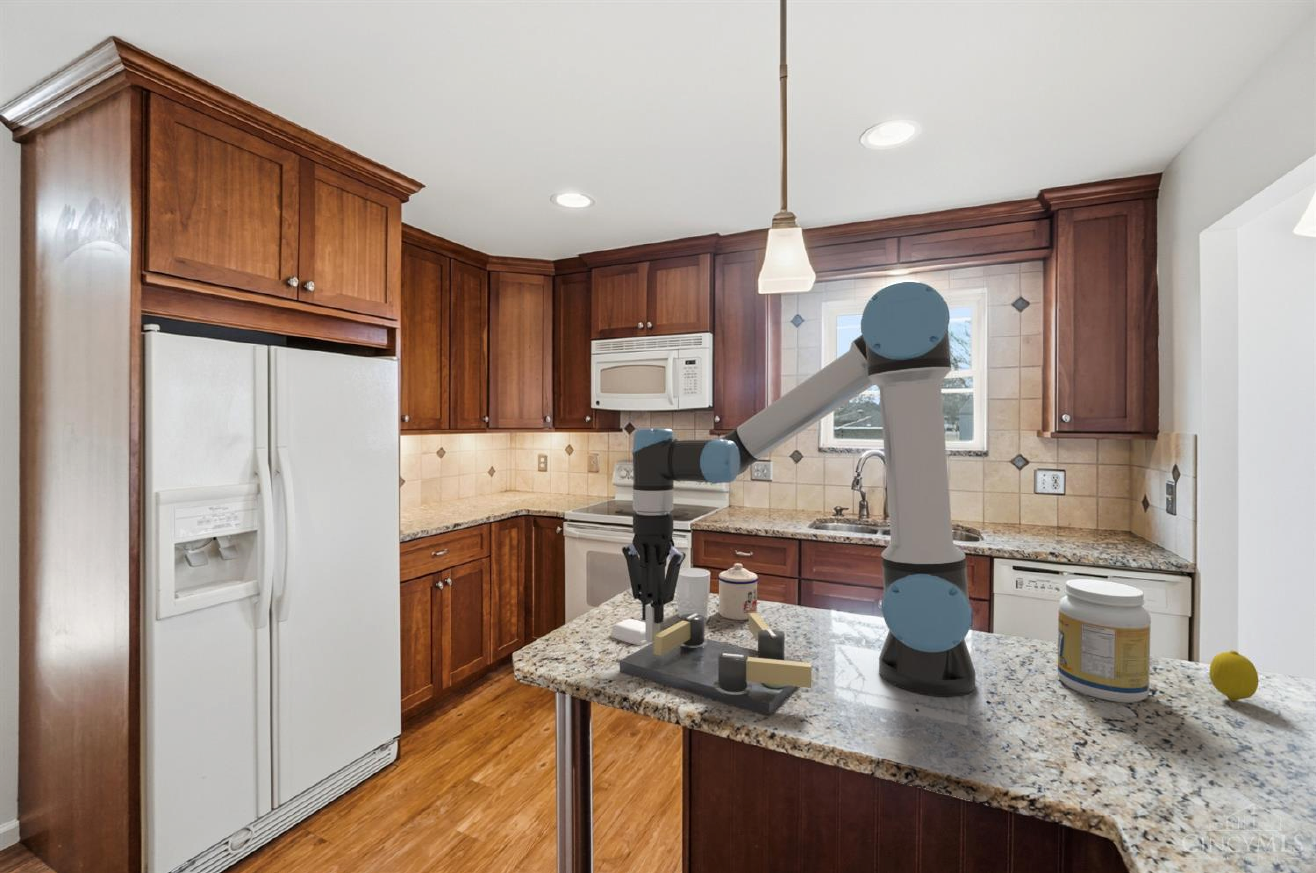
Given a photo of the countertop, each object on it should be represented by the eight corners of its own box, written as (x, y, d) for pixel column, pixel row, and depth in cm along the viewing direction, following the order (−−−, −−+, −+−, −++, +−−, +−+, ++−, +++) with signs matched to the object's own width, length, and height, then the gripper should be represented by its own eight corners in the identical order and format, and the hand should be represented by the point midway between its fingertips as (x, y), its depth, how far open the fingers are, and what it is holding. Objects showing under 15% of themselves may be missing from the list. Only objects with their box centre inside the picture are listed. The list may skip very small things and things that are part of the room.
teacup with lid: (750, 623, 129) (751, 570, 128) (712, 617, 133) (712, 566, 133) (766, 608, 139) (766, 559, 139) (730, 603, 143) (730, 555, 143)
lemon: (1249, 712, 89) (1250, 660, 89) (1202, 697, 94) (1203, 647, 94) (1264, 704, 92) (1265, 653, 92) (1217, 690, 97) (1218, 642, 96)
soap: (662, 638, 120) (662, 624, 120) (641, 648, 115) (641, 633, 115) (629, 628, 126) (629, 615, 126) (607, 637, 121) (607, 623, 121)
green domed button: (791, 681, 95) (791, 676, 95) (782, 690, 91) (782, 686, 91) (768, 675, 97) (768, 671, 97) (758, 684, 94) (758, 679, 94)
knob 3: (716, 689, 91) (716, 659, 91) (720, 676, 96) (720, 648, 95) (811, 699, 88) (811, 668, 88) (810, 686, 92) (811, 656, 92)
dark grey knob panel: (810, 674, 102) (810, 662, 102) (766, 719, 86) (766, 704, 86) (674, 641, 118) (674, 630, 118) (616, 674, 102) (616, 662, 102)
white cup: (673, 620, 131) (673, 575, 130) (677, 609, 138) (678, 567, 138) (708, 622, 129) (708, 577, 129) (711, 611, 137) (711, 568, 137)
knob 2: (788, 663, 101) (788, 636, 101) (762, 664, 100) (762, 637, 100) (764, 634, 115) (764, 610, 115) (741, 635, 115) (741, 611, 115)
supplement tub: (1058, 667, 106) (1059, 573, 106) (1145, 684, 99) (1147, 584, 98) (1056, 691, 96) (1057, 588, 96) (1153, 713, 89) (1155, 602, 89)
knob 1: (688, 634, 115) (688, 610, 115) (708, 639, 113) (708, 614, 112) (646, 658, 103) (646, 631, 103) (668, 664, 101) (668, 636, 101)
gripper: (693, 512, 108) (693, 640, 108) (636, 507, 115) (636, 626, 115) (672, 517, 101) (671, 653, 102) (612, 511, 109) (612, 638, 109)
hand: (652, 638), depth 108 cm, fingers closed
